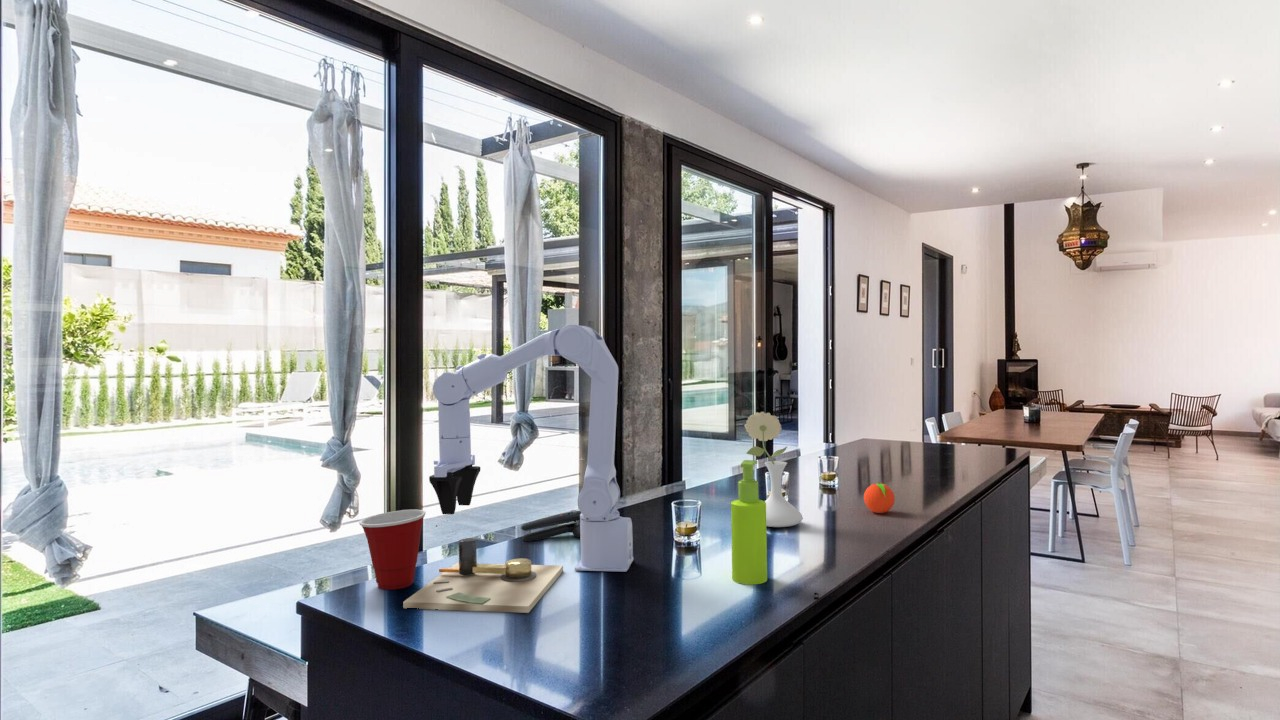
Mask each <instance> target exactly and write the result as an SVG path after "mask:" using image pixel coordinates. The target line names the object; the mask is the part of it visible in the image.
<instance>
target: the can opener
mask: <svg viewBox="0 0 1280 720" xmlns="http://www.w3.org/2000/svg"><path fill="white" fill-rule="evenodd" d="M580 514H581V512H580V510H575V509H572V510H570V512H565V513H560V514H559V513H558V514H555V515H551V516H547V517H543V518H538V519H536V520H533V521H529V522H526V523H524V524H522V525H521V528H520V529H521V530H522V531H525V532H527V531H532V530H537V529H540V530H537V531H532V532H530V533H526V534H525V535H523V536H522V541H524V542H533V540H535V541H541V539H542V540H546V539H549V538H553V537H557V536H560V535H564V534H569V533H572V534H573V536H575V537H577V538H578V537H580ZM573 522H574V523H573ZM547 527H549V528H547ZM542 528H544V529H542Z"/></svg>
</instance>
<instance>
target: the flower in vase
mask: <svg viewBox="0 0 1280 720" xmlns="http://www.w3.org/2000/svg"><path fill="white" fill-rule="evenodd" d="M744 429H746V433H748V436H749V437H750V438H752V439H754V440H757V439H758V441H760V442H762V447H759V446H752V447H751V448H750V449H748V450H747V452H746V453H745V454H747V455H751V456H755V457H762V455H763V454H764V453H765V454H766V456H768V458H769V459H770V461H765V462H764V463H763V464H764V465H765V467H766V468H767V470H768V472H769V473H768V474H769V478H770V480H769V481H770V494H769V496H768V497H767V499H766V500H764V501H765V502H766V527H769V528H770V527H772V528H786V527H793V526H797V525H798V524H800V523H801V522H802V521H803V519H804V517H803V514H802V513H801V512H800V511H799V509H797V508H796V507H795V506H794V505H792V504H791V502H788V500H787V499H786V498H785V497H784V496H783V492H782V491H783V490H782V477H783V472H784V470H785V468H786V466H788V465H787V464H788V462H786V461H783V460H782V461H781V460H773V458H774V457H778V456H780V455H782V454H783V453H784V452H785V451H786V450H787V449H788V446H785V447H783V448H781V449H778V450H775V451H774V452H773V454H771V455H770V454H769V452H768V451H767V449H766V447H765V442H767V441H768V440H770V441H771V440H773V439H776V438H778V437H779V434H781V431H782V429H783V428H782V424H781V423H780V420H779V419H778V416H776V415H773V414H772V415H771V413H770V412H764V411H760V412H755V413H754V414H750V415H749V417H747V420H746V421H745V424H744Z"/></svg>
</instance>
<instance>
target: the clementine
mask: <svg viewBox="0 0 1280 720" xmlns="http://www.w3.org/2000/svg"><path fill="white" fill-rule="evenodd" d="M895 500H896V497H895V493H894V491H893V489H891V487H890V486H889V485H887V484H885V483H880V482H877V483H872V484H870V485H869V486H868V487H867V488H866V489H865V491H864V493H863V502H864V504H865V506H866V507H867V509H868V510H869V511H870V512H874V513H876V514H885V513H887V512H889V511H890V510H891V509H892V508H893V506H894V504H895Z"/></svg>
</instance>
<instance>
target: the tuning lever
mask: <svg viewBox="0 0 1280 720" xmlns="http://www.w3.org/2000/svg"><path fill="white" fill-rule="evenodd" d="M457 542H458V543H457V545H458V563H459V569H452V568H450V567H448V568H446V567H445V568H444V567H441V568H438V572H439V573H443V572H454V573H459V574H461V575H471V574H475V573H492V574H505V575H506V576H507V577H511V578H521V577H526V576H529V575H531V573H532V569H531V565H532V560H531V559H528V558H523V557H522V558H520V557H519V558H511V559H509V560H506V561H505V563H504V564H505V565H492V564H493V563H482V564H477V561H478V559H477V557H478V556H477V551H478V550H477V539H476V538H473V537H472V538H471V537H469V538H468V537H467V538H462V539H459V540H458V541H457Z"/></svg>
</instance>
